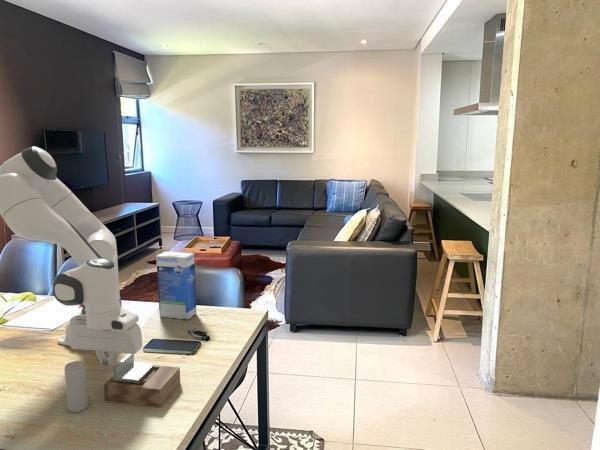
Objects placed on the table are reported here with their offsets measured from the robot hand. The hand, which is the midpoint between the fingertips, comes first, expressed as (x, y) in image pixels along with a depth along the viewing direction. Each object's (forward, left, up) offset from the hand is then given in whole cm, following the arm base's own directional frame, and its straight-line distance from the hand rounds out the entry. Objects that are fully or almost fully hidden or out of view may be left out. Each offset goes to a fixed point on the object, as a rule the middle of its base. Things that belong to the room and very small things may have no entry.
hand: (107, 364), depth 122 cm
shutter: (+8, 0, -2) cm, 8 cm away
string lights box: (-4, +55, -8) cm, 56 cm away
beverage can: (-2, -10, -7) cm, 13 cm away
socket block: (+11, 0, -7) cm, 13 cm away
